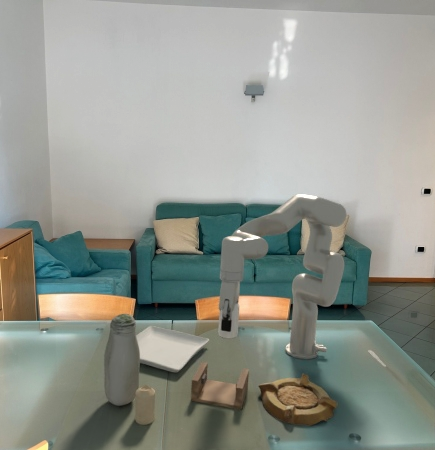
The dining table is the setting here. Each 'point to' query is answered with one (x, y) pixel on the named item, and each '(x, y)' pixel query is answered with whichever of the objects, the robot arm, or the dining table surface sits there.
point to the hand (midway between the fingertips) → (228, 326)
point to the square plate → (168, 348)
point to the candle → (145, 405)
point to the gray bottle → (121, 361)
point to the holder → (219, 389)
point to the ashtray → (297, 401)
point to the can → (234, 324)
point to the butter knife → (376, 357)
